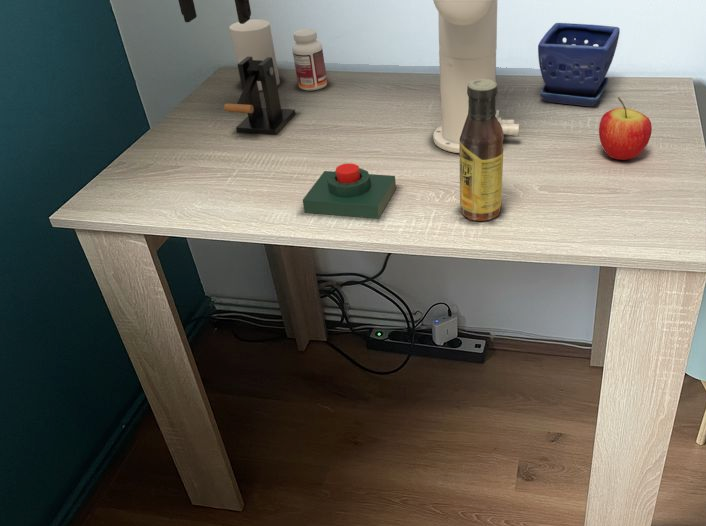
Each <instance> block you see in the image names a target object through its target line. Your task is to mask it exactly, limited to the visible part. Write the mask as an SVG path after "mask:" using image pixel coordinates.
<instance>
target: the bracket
mask: <svg viewBox="0 0 706 526" xmlns="http://www.w3.org/2000/svg"><path fill="white" fill-rule="evenodd" d="M251 60H253V59H252V57H249V56H247V57H246V58H245V59H244V60H242V61H241V62H240V63H239V64H237V63H236V66H237V70H238V75H239V79H240V84H242V85H241V88H242V90H243V89H244V87H245V85H246V83H247V81H248V79H249V74H248V72H247V69H248V67H249V65H250V63H251ZM258 69H259V74H260V80H261V85H262V90H261V91H262V96H263V100H264V105H265V107H263V104H262V100H261V94H260V91H259V89H258V84H257V81H256V83H255V85H254V88H253V90H252V92H251V94H250V96H249V98H248V100H247V103H246V105H252V106H253V108H254V111H253V113H247V116H246V118H244V120H242V121H241V122H240V123H239V124H238V125H237V126H236V127H235V130H236V133H237V134H238V133H239V134H257V135H273V136H276V135H278V134H279V132H280V131H281V130H282V129H284V127H285V126H286V125H287V124H288V123H289V122H290V121H291V120H292V119H293V117H295V115H297V114H296V109H294V108H292V109H291V108H282V104H281V99H280V94H279V89H278V88H279V87H278V85H277V82H276V76H275V71H274V65H273V59H272V57H267V58H266V59H265V60H263V61H262V62H261V63H260V64H259V65H258Z"/></svg>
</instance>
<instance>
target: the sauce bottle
mask: <svg viewBox="0 0 706 526" xmlns="http://www.w3.org/2000/svg"><path fill="white" fill-rule="evenodd" d="M467 95H468V97H469V100H468V103H469V109H468V115H467V118H466V121H465V124H464V127H463V130H462V133H461V136H460V146H459V148H460V153H459V204H460V212H461V214H462V215H463V216H464V217H465V218H467V219H468V220H470V221H479V222H483V221H485V222H486V221H490V220H493V219H496V218H497V217H498V216H499V214H500V212H501V205H502V195H503V172H504V170H503V169H504V167H503V166H504V148H503V147H504V144H503V143H504V139H503V130H502V127H501V125H500V122H498V120H497V118H496V116H495V115H496V110H497V109H496V103H497V96H498V83H497V81H496V82H495V81H493V80H489V79H476V80H473V81H471V82H470V83H468V86H467Z"/></svg>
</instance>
